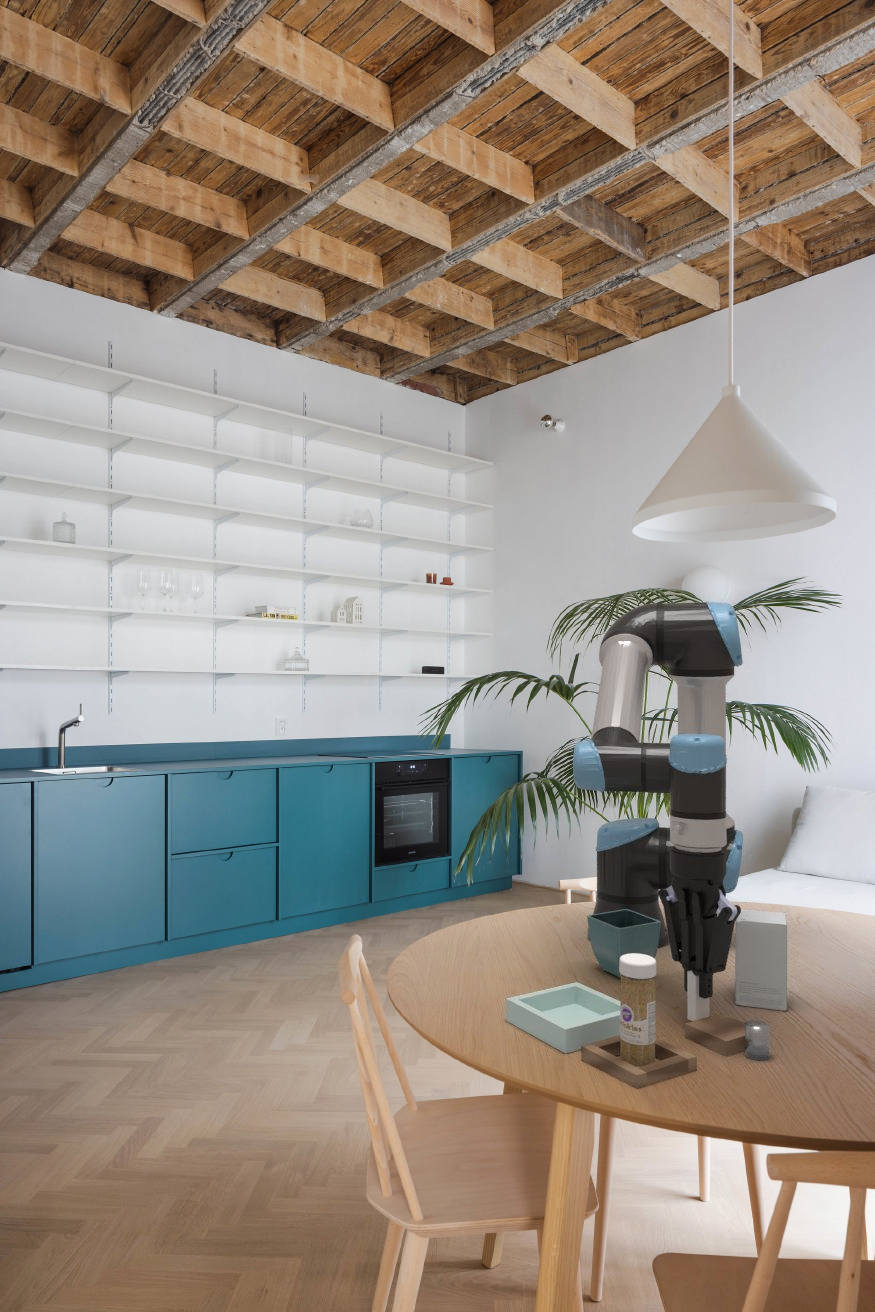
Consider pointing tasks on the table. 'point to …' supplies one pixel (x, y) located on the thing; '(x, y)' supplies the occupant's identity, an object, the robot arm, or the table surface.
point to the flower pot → (622, 936)
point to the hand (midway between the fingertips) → (698, 1018)
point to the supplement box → (761, 960)
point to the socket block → (669, 1067)
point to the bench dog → (757, 1040)
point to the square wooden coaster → (718, 1034)
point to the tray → (566, 1015)
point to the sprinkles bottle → (637, 1009)
